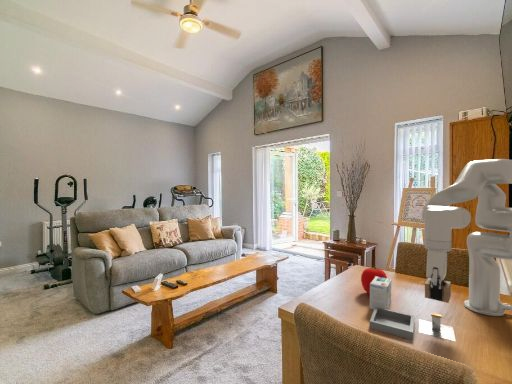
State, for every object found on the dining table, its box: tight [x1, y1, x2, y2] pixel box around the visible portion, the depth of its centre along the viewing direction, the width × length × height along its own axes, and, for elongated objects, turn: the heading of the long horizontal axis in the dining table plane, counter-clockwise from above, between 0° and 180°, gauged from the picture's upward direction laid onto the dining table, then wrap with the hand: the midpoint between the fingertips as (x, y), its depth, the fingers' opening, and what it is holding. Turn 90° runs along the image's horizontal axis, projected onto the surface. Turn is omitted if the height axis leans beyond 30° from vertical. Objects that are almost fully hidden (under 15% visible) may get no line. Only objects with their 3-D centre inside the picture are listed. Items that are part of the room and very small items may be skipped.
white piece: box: [418, 312, 456, 342], centre depth 90 cm, size 10×10×6 cm
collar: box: [424, 277, 452, 304], centre depth 90 cm, size 7×7×5 cm
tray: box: [369, 307, 415, 341], centre depth 93 cm, size 13×13×4 cm
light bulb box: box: [369, 276, 392, 310], centre depth 110 cm, size 11×7×11 cm, turn 144°
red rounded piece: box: [360, 266, 388, 295], centre depth 121 cm, size 11×11×13 cm
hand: (437, 295), depth 90 cm, fingers closed on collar, 6 cm apart
